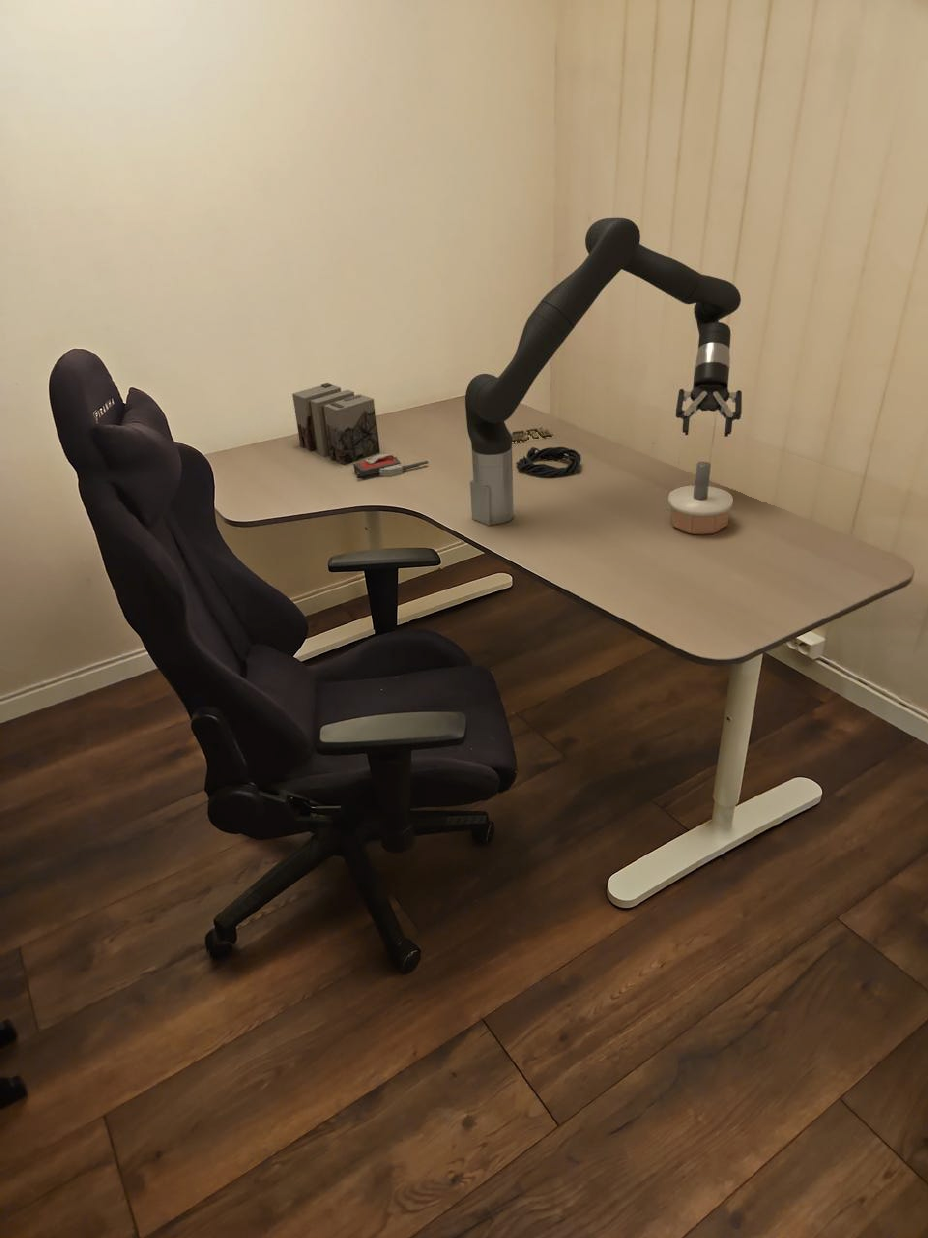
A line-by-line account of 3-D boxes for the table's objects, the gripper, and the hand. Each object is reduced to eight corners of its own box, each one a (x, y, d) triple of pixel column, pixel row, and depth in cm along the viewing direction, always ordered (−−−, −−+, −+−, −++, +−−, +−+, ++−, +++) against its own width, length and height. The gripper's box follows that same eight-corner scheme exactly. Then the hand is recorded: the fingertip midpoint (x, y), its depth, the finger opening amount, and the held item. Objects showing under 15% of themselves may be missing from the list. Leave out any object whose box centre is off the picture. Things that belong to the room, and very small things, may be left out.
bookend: (336, 432, 265) (329, 379, 257) (387, 453, 249) (381, 396, 240) (291, 447, 257) (282, 392, 248) (340, 469, 240) (333, 411, 232)
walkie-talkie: (361, 485, 231) (430, 468, 238) (359, 469, 229) (429, 452, 236) (349, 473, 238) (416, 458, 245) (347, 458, 235) (415, 442, 243)
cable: (591, 467, 233) (591, 451, 231) (561, 485, 224) (561, 469, 222) (537, 454, 243) (537, 439, 240) (507, 471, 234) (506, 455, 231)
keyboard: (484, 451, 248) (483, 444, 247) (475, 440, 255) (475, 434, 254) (557, 439, 252) (557, 433, 251) (546, 429, 259) (546, 423, 258)
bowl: (704, 540, 194) (706, 519, 191) (660, 523, 202) (661, 503, 199) (736, 522, 200) (738, 502, 198) (692, 507, 208) (694, 487, 206)
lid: (707, 522, 190) (711, 482, 185) (655, 503, 199) (657, 465, 195) (744, 501, 198) (749, 463, 193) (693, 484, 207) (696, 447, 202)
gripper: (680, 359, 199) (674, 426, 196) (746, 360, 196) (741, 428, 192) (679, 375, 206) (673, 440, 203) (743, 377, 203) (738, 442, 200)
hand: (706, 434), depth 198 cm, fingers open, 8 cm apart
